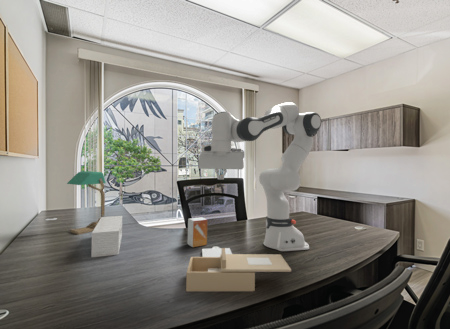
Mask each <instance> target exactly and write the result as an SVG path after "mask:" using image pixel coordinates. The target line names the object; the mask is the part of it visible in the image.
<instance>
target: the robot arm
mask: <svg viewBox="0 0 450 329" xmlns="http://www.w3.org/2000/svg"><path fill="white" fill-rule="evenodd" d="M211 121H212V122H211V134H212V137H211V141H210V142H211V144H207V145H205V146H202V147H201V148H200V150H201V153H200V154H199V156H198V160H197V161H198V162H197V168H199V169H200V170H209V169H210V170H214V171H215V172H214V173H215V174H216V176H217V180H225V175H226V173H227V172H228V171H227V170H243V169H244V167H245V163H244V158H245V151H244V150H243V149H242V148H232V142H233V143H242V142H243V143H244V142H254V141H256V140H257V139H258V138H259V137H260V136H261V135H262V134H263V133H264V132H266V131H268V130H270V129H271V130H273V129H279V128H282V130H283V132H284V133H285V134H286V135H288V136H289V135H290V136H294V137H293V140H292V141H291V142H290V144H289V145H288V147H286V149H285V151H284V152H283V154H281V158H280V159H281V162H282V163H281V166H280V167H278V168H267V169H264V170H262V171H261V172H260V174H259V179H258V180H259V184H260V185H261V186H262V188H263V190H264V194H265V197H266V217H265V228H266V230H265V236H264V240H263V245H264V246H265V247H267V248H270V249H273V250H277V251H280V252H292V251H293V252H294V251H304V250H305V251H306V250H310V245H309V243H308V242H306V241H305V237H304V234H303V233H302V231H300V230H299V229H298V228H296V227H295V226H294V225H296V224H297V221H296V220H295V219H293V218H291V217H290V203H289V202H290V201H289V200H288V199H287V197H286V195H285V193H284V192H286V193H287V192H295V191H297V190H298V189H299V188H300V186H301V184H302V182H301V181H302V178H301V175H300V170H301V167H302V165H303V164H304V163H305V160H306V159H307V157H308V156H309V154H310V153H311V151H312V149H313V146H314V137H315V136H316V135H317V133H318V132H319V130H320V128H321V126H322V118H321V115H320V114H319V113H317V112H313V111H308V112H302V113H300V110H299V106H298V105H297V104H296V103H294V102H284V103H279V104H277V105H274V106H272V107H269V108H268V109H267V110H265V112H264V115H263V116H260V117H253V116H248V117H244V118H242V119H240V120H239V119H237V118H235V117H234V116H233V114H231V112H230V111H219V112H217V113H215V114H214V115H213V116H212V120H211ZM219 170H222V171H223V174H222V175H220V174H219V173H218V172H219Z"/></svg>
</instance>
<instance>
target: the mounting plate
mask: <svg viewBox="0 0 450 329" xmlns="http://www.w3.org/2000/svg"><path fill="white" fill-rule="evenodd" d="M222 248H223V247H222ZM222 248H221V247H220V246H212V248H202V249H201V257H220V254H222ZM224 248H225V254H233V252H232V250H231V247H224Z"/></svg>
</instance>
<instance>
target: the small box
mask: <svg viewBox="0 0 450 329" xmlns="http://www.w3.org/2000/svg"><path fill="white" fill-rule="evenodd" d="M207 244H208V219H207V218H205V217H202V216H201V217H200V216H199V217H192V218H188V219H187V245H188V246H190V247H192V248H195V247H201V246H207Z"/></svg>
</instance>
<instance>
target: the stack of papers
mask: <svg viewBox="0 0 450 329" xmlns="http://www.w3.org/2000/svg"><path fill="white" fill-rule="evenodd" d="M100 218H101V219H100V220H99V219H98V220H99V222H98V224H97V225H96V227H95V228H94V230H93V231H92V232H91V251H90V252H91V253H90V254H91V258H98V257H107V256H108V257H109V256H116V255H119V254H120V250H121V249H120V247H121V243H122V237H123V215H115V216H113V215H111V216H104V217H101V216H100Z"/></svg>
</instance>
